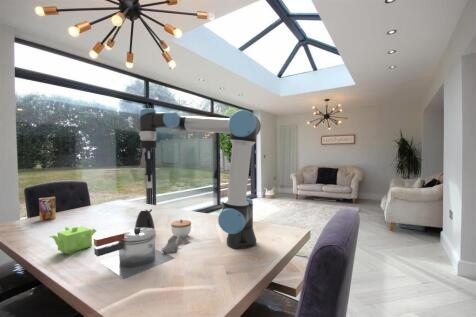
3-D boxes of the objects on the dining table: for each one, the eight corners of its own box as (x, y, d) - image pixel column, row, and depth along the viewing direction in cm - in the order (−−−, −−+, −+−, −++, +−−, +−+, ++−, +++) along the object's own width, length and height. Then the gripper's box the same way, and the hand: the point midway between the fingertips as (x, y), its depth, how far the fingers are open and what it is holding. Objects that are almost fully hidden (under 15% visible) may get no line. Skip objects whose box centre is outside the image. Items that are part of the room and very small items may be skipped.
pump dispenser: (159, 235, 135) (158, 208, 135) (144, 241, 126) (144, 212, 125) (145, 233, 139) (144, 206, 139) (130, 238, 130) (130, 210, 129)
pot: (144, 249, 112) (144, 228, 112) (162, 258, 103) (162, 235, 103) (89, 268, 94) (88, 243, 94) (104, 281, 85) (104, 253, 85)
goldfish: (170, 237, 128) (182, 225, 127) (183, 250, 128) (195, 239, 127) (153, 254, 108) (167, 240, 107) (168, 270, 108) (182, 257, 107)
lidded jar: (186, 240, 127) (186, 223, 126) (167, 239, 129) (167, 221, 128) (194, 234, 137) (194, 217, 137) (176, 232, 139) (176, 216, 139)
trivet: (175, 260, 103) (175, 258, 103) (124, 281, 86) (123, 278, 86) (147, 247, 117) (147, 245, 117) (99, 263, 100) (99, 261, 100)
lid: (145, 228, 112) (145, 221, 112) (162, 235, 102) (162, 227, 102) (88, 242, 95) (88, 234, 95) (102, 252, 85) (102, 243, 85)
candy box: (55, 217, 174) (55, 196, 173) (55, 218, 170) (55, 197, 170) (39, 219, 168) (39, 198, 168) (39, 221, 165) (38, 198, 164)
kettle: (49, 259, 105) (48, 233, 105) (63, 247, 119) (62, 224, 119) (87, 255, 109) (87, 230, 109) (97, 244, 123) (96, 222, 123)
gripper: (140, 141, 124) (141, 186, 125) (139, 139, 112) (141, 190, 112) (155, 141, 127) (156, 185, 127) (156, 139, 115) (158, 189, 115)
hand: (149, 187), depth 120 cm, fingers closed
